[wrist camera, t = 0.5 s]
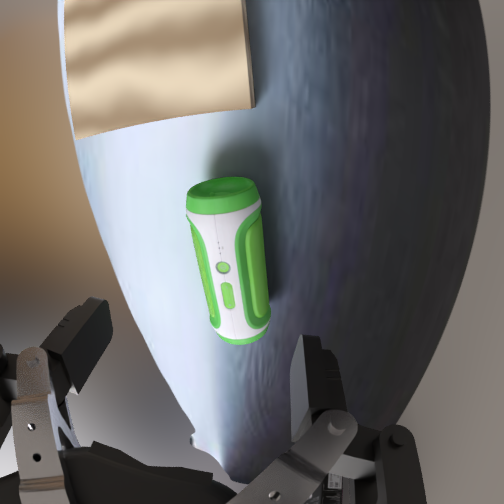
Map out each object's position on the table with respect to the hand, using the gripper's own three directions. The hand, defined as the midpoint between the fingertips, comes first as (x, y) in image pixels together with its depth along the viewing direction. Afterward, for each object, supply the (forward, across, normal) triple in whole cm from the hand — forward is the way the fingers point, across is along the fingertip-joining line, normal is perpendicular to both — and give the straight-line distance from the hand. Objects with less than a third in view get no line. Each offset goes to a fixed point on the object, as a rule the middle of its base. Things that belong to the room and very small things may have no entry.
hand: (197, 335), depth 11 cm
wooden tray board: (+20, +12, -22) cm, 33 cm away
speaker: (+23, 0, +6) cm, 24 cm away
